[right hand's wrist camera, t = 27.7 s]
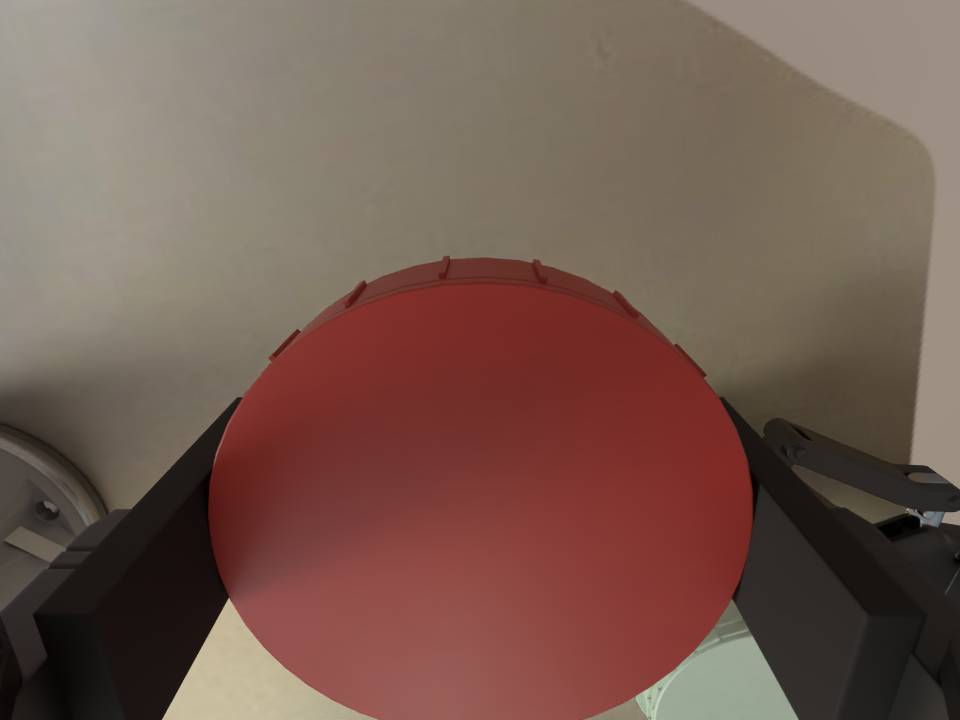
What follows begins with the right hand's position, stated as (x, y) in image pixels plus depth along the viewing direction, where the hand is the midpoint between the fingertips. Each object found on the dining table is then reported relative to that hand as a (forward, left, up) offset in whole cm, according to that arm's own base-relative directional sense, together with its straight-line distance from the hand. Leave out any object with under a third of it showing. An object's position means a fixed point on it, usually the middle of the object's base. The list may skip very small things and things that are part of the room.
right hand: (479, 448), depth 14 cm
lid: (0, 0, +3) cm, 3 cm away
